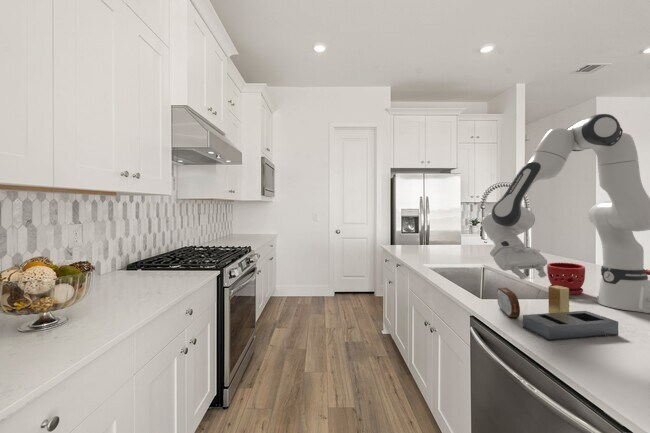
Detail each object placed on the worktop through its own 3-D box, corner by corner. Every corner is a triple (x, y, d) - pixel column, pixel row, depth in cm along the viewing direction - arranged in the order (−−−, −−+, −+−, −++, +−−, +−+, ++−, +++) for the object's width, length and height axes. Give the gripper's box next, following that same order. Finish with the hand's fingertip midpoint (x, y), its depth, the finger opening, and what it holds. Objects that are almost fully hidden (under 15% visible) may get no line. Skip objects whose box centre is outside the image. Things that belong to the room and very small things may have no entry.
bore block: (585, 323, 101) (585, 310, 101) (618, 335, 91) (618, 321, 91) (522, 327, 99) (522, 315, 99) (549, 340, 89) (549, 326, 89)
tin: (521, 321, 104) (520, 295, 104) (510, 320, 105) (510, 295, 105) (504, 307, 119) (504, 284, 119) (495, 306, 120) (495, 284, 120)
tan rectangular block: (557, 313, 110) (557, 285, 110) (569, 317, 107) (568, 288, 106) (548, 315, 109) (548, 286, 109) (560, 319, 105) (560, 289, 105)
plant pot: (543, 287, 146) (543, 261, 145) (578, 289, 141) (578, 262, 140) (552, 295, 133) (552, 266, 133) (590, 297, 129) (590, 268, 128)
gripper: (526, 251, 129) (549, 280, 120) (486, 253, 123) (507, 284, 114) (536, 241, 125) (561, 270, 116) (495, 243, 119) (518, 274, 110)
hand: (534, 277), depth 115 cm, fingers open, 8 cm apart
